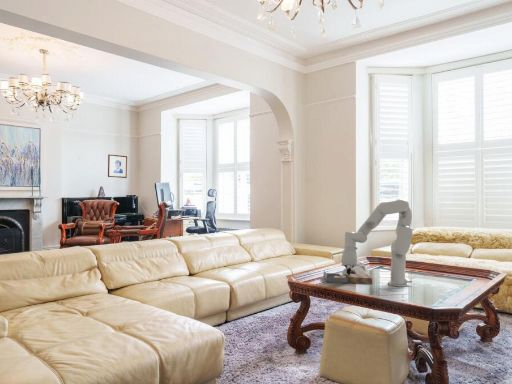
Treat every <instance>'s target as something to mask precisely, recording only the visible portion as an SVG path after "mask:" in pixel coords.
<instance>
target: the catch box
mask: <svg viewBox="0 0 512 384" xmlns="http://www.w3.org/2000/svg"><path fill="white" fill-rule="evenodd" d="M343 275H344V274H343ZM334 276H340V275H339V273H335V272H334V273H333V272H326V270H325V271H324V270H323V279H324V281H325V282H326V283H338V284H349V282H348V278H346V275H344V277H345V278H338V277H334Z"/></svg>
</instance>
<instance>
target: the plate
mask: <svg viewBox="0 0 512 384" xmlns="http://www.w3.org/2000/svg"><path fill="white" fill-rule="evenodd" d="M345 277H346V278H348V284H366V285H373V277H372V276H370V274H369V275H366V274H355V273H350V275H348V274H346V275H345Z"/></svg>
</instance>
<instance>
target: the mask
mask: <svg viewBox="0 0 512 384" xmlns="http://www.w3.org/2000/svg"><path fill="white" fill-rule="evenodd" d="M348 267H350V265H348ZM346 272H347V268H346V267H344V270H343V271H341V273H342V274H344V276H346V274H347V273H346ZM352 272H354V274H366V275H369V276H370V273H369V272H368V269H367V267H366V264H365V263H364V262H360V261H359V260H357V266H356V267H353V268H352V269H351V273H352Z"/></svg>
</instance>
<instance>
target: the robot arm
mask: <svg viewBox="0 0 512 384" xmlns="http://www.w3.org/2000/svg"><path fill="white" fill-rule="evenodd" d="M397 213H398V221H397V225H396V228H395V234H396V239H394V240H393V241H392V243H391V244H390V250H391V251H390V252H391V253H390V254H391V256H390V257H391V260H390V262H391V263H390V280H389V281H387V284H388V285H390V286H393V287H404V288H405V287H407V286H408V283H410V284H413V280H412V279H406V262H407V261H406V259H407V257H406V256H407V254H408V253H409V251H410V247H411V243H412V239H413V230H412V228H411V225H412V219H413V213H412V209H411V207H410V204H409V202H408V201H407V200H406V199H403V198H402V199H401V198H399V199H396V200H394V201H393V200H392V201H385V202H383V201H382V202H380V203H379V204H378V205H377V206H376V207H375V209H374V210H373V211H372V213H371V214H370V215H369V216H368V218H367V219H366V220H365V221H364V223H362V225H361V226H360V227H359V228H358V230H357V231H356V232H355V231H350V230H348V231H345V234H344V248H343V250H342V254H341V266H342V267H344V268H347V272H346V273H347V274H348V275H350V274H352V272H351V269H352V268H353V267H356V266H357V261H358V259H357V258H358V257H357V250H358V247H356V243H359V244H363V243H366V242H367V240H368V236H369V234H370V233H371V232H372V230H373V229H375V228H377V227H378V226H379V225H380V224H381V222H382V221H383V220H384V219H385V217H386V216H387V215H393V214H397ZM348 265H350V267H348Z"/></svg>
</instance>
